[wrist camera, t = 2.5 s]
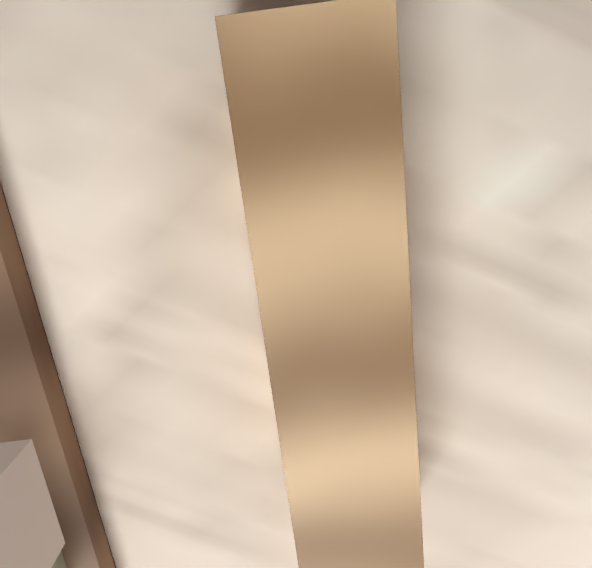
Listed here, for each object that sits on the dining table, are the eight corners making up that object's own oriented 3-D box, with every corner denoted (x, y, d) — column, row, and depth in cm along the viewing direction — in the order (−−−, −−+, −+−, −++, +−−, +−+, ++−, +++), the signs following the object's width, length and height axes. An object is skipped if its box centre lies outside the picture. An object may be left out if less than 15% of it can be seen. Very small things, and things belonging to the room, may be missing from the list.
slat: (235, 50, 14) (214, 16, 10) (366, 33, 14) (395, -8, 10) (303, 523, 19) (306, 617, 16) (398, 513, 19) (425, 605, 15)
